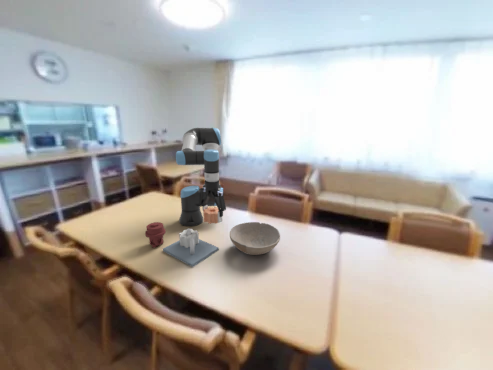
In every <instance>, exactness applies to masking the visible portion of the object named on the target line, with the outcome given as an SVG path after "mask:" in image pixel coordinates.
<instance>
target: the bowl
mask: <svg viewBox="0 0 493 370" xmlns="http://www.w3.org/2000/svg"><path fill="white" fill-rule="evenodd" d="M229 238H230V241H231V243H232V245H233V246H234V247H236V249H237V250H239V251H240V252H242V253H244V254H247V255H251V256H258V255H264V254H267V253H270V252H271V251H272V250H273V249H274V248H275V247H277V245H278V243H279V242H280V241H281V233H280V231H279V229H278V228H277V227H275V226H273V225H271V224H268V223H265V222H261V223H260V222H258V221H249V222H244V223H239V224H237V225H233V227H232V228H231V229H230V231H229Z"/></svg>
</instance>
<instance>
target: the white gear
mask: <svg viewBox="0 0 493 370" xmlns="http://www.w3.org/2000/svg"><path fill="white" fill-rule="evenodd" d="M190 229H191V235H187V229H184V230H183V231H182V232H179V233H178V235H179V240H180V246H185V248H188V247H190V239H191V238H194V246H195V245H196V244H198V243H199V239H200V238H199V231H198V230H197V229H196V230H193V228H190Z"/></svg>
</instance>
